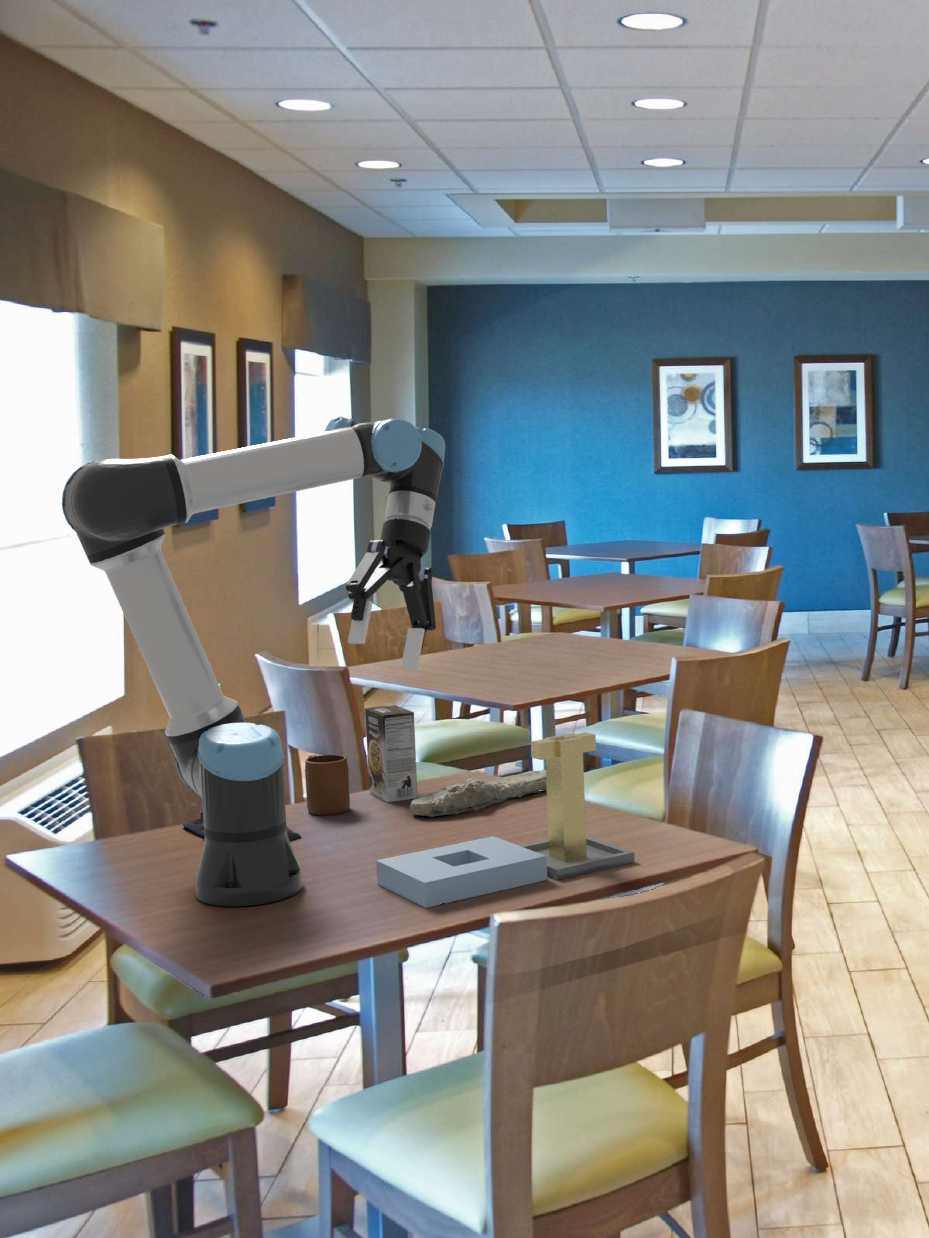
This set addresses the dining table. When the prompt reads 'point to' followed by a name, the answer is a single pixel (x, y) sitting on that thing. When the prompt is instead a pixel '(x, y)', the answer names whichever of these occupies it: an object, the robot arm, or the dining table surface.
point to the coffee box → (391, 753)
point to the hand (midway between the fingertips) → (383, 656)
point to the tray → (597, 858)
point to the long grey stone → (478, 794)
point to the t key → (565, 792)
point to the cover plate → (461, 871)
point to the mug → (327, 784)
